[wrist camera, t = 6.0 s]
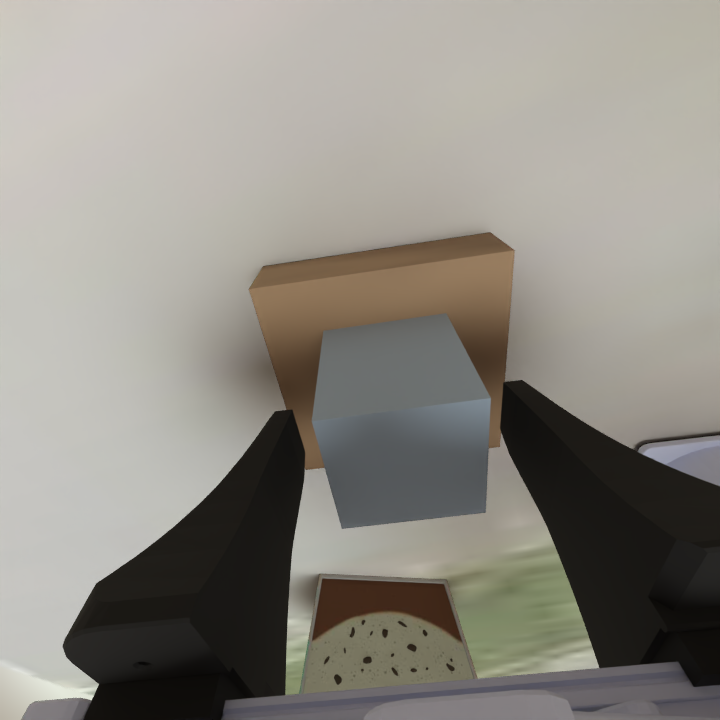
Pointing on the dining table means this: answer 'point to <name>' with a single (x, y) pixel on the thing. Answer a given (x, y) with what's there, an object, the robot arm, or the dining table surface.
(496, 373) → the base
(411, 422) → the block
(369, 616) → the food container
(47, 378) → the dining table surface
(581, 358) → the dining table surface
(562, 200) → the dining table surface
